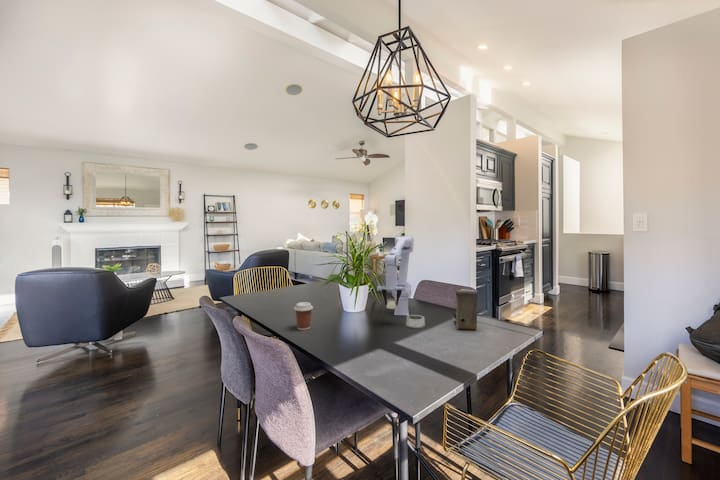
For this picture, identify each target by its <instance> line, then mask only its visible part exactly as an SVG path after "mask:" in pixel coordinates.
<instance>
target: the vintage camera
mask: <svg viewBox="0 0 720 480" xmlns="http://www.w3.org/2000/svg"><path fill="white" fill-rule="evenodd" d="M455 298H456V301H455V302H456V312H455V313H452V315H453V318H454V319H455V320H456V321H455V324H456V325H455V326H456V329H457V330H467V331H468V330H471V331H473V330H474V331H477V329H478V290H477V289H476V288H474V289H472V288H471V289H465V288H461V289H460V288H457V289H456V291H455Z"/></svg>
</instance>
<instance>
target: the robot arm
mask: <svg viewBox="0 0 720 480" xmlns="http://www.w3.org/2000/svg"><path fill="white" fill-rule="evenodd" d="M394 245H395V246H394V247H392V248H391V250H390V252H389V253H388V254H386V255H385V256H384V260H383V261H384V269H385V285H377V287H376V288H377V289H376V291H379V292H380V291H381V295H382V297H383V300H384V304H385V305H386V306H387V299H388V298H387V291H391V295H392V297H394V298H393V299H396V308H395V309H394V313H393V315H395V316H406V317H407V316H409V315H410V313H409V312H410V311H409V299H410V298H411V296H412V285H411V284H410V282H409V281H407V280H408V272H409V271H408V270H409V259H410V255H411V253H412V252H413V250H414V245H415V243H414V238H413V236H398V235H397V236H395V238H394ZM398 267H399V270H398Z"/></svg>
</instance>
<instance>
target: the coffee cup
mask: <svg viewBox="0 0 720 480" xmlns="http://www.w3.org/2000/svg"><path fill="white" fill-rule="evenodd" d="M293 309H294V311H295V319H296V327H297V330H300V331H303V330H304V331H305V330H306V329H307V330H308V329H311V324H312V310H313V309H314V306H313V305H312V304H311V303H310V302H307V301H302V302H297V303H296V304H295V306H294V307H293Z"/></svg>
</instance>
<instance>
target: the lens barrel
mask: <svg viewBox="0 0 720 480" xmlns="http://www.w3.org/2000/svg"><path fill="white" fill-rule="evenodd" d="M426 326H427V325H426V322H425V316H423V315H419V314H409V315H408V316H406V322H405V327H407V328H409V329H413V330H414V329H415V330H417V329H418V330H420V329H424V328H426Z"/></svg>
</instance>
